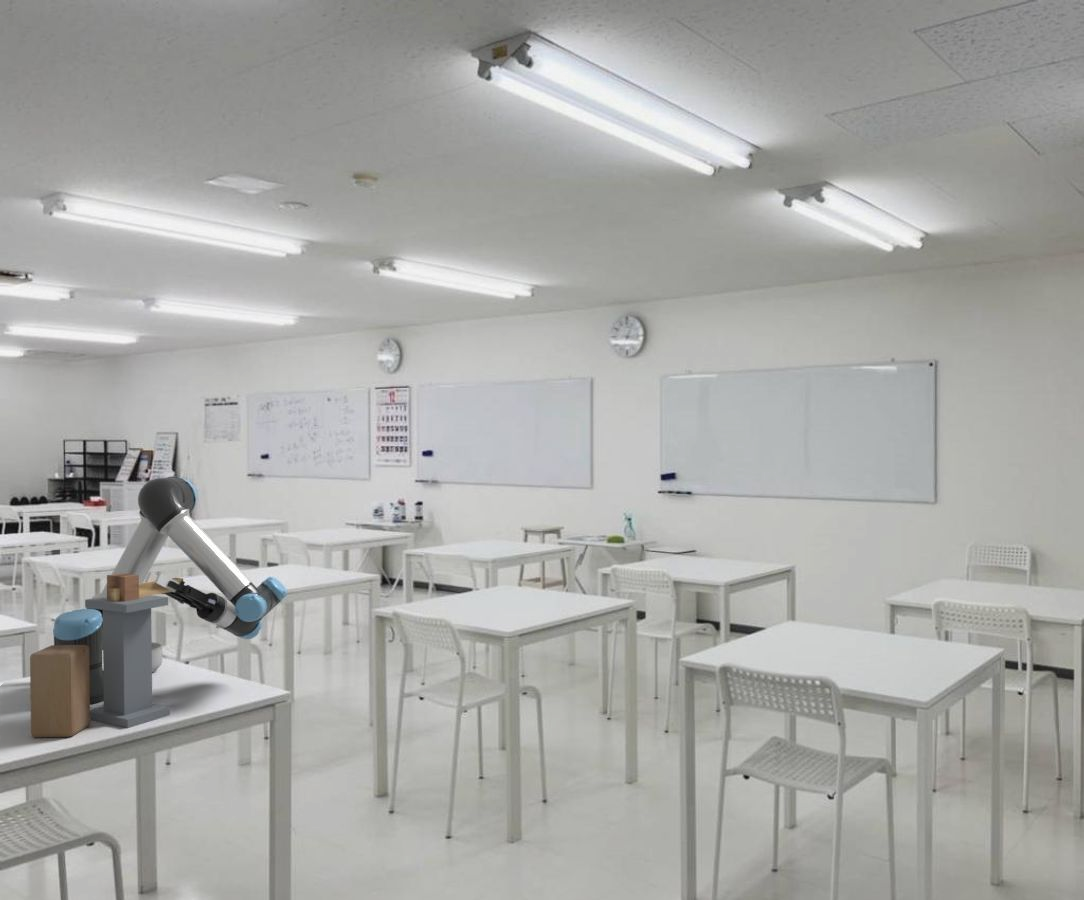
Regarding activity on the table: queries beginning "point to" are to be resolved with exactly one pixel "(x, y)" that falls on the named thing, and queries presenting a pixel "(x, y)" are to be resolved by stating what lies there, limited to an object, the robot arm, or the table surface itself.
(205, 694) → the table surface
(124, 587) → the marking gauge
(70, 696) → the wooden block
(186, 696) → the table surface
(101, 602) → the tall stand
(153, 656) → the teacup
